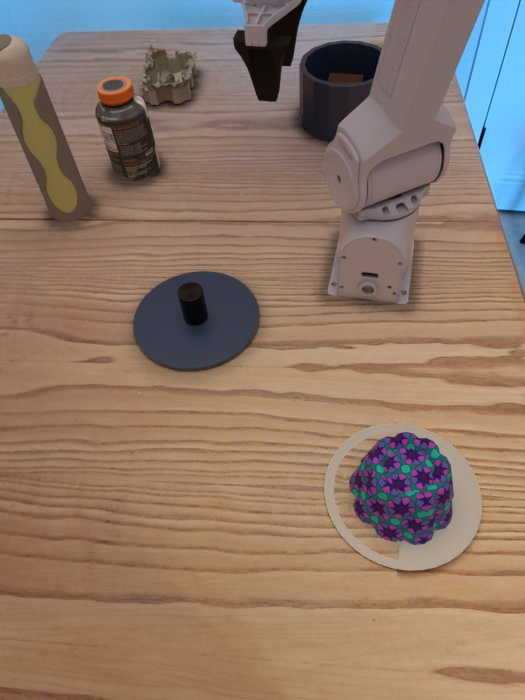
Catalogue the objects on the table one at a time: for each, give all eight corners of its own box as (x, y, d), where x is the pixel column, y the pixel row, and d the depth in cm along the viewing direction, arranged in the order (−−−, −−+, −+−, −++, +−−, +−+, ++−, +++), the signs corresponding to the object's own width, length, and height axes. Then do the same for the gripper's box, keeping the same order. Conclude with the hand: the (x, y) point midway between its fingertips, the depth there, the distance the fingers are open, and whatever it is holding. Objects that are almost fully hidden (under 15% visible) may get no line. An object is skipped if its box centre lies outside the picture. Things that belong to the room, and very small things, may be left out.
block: (356, 124, 75) (359, 92, 72) (323, 122, 76) (324, 90, 72) (361, 106, 78) (363, 74, 74) (328, 104, 78) (329, 72, 75)
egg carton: (154, 69, 88) (148, 42, 85) (202, 68, 88) (198, 41, 84) (138, 106, 82) (131, 78, 79) (190, 106, 81) (185, 78, 78)
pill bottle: (165, 156, 74) (145, 69, 65) (155, 184, 71) (133, 97, 62) (120, 156, 75) (95, 70, 66) (109, 184, 71) (80, 98, 62)
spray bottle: (95, 219, 68) (29, 45, 52) (54, 229, 67) (-26, 57, 51) (90, 195, 70) (26, 23, 54) (50, 204, 70) (-26, 33, 54)
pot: (381, 145, 73) (387, 89, 67) (293, 139, 75) (291, 83, 69) (389, 98, 79) (396, 42, 73) (308, 93, 81) (308, 38, 76)
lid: (242, 384, 52) (237, 353, 49) (116, 364, 55) (102, 333, 51) (271, 286, 59) (269, 252, 56) (159, 271, 62) (150, 238, 58)
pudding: (356, 594, 41) (361, 573, 37) (304, 449, 48) (303, 417, 44) (509, 546, 42) (532, 520, 38) (437, 412, 49) (449, 377, 45)
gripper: (247, -87, 59) (256, 48, 70) (206, -29, 51) (224, 114, 61) (315, -86, 58) (313, 51, 68) (284, -27, 49) (288, 119, 60)
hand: (275, 81), depth 65 cm, fingers open, 7 cm apart
